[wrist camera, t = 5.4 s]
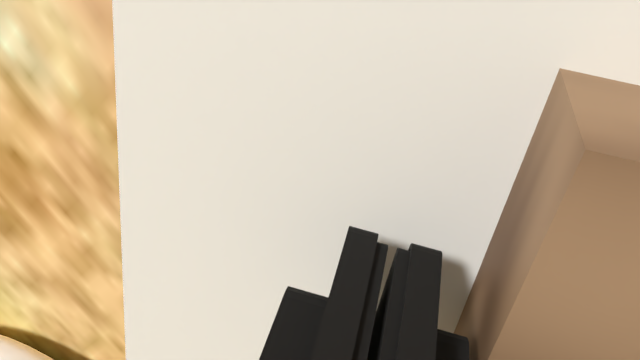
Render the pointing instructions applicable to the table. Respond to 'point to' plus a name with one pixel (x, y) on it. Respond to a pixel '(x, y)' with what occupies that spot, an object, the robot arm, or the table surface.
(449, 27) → the flat white rectangular box
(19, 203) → the table surface
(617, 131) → the walnut block
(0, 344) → the flower in vase
